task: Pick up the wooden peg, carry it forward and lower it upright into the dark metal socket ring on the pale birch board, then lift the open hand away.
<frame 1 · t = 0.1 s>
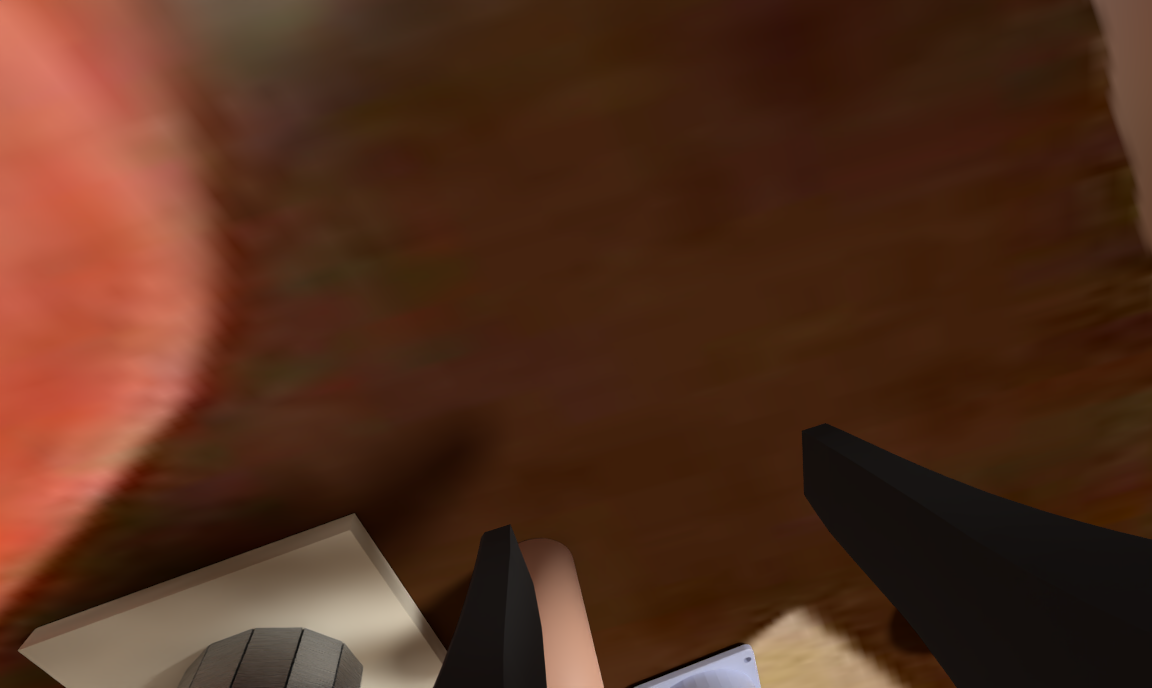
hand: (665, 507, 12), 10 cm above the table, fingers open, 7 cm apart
socket board: (284, 662, 25), on the table
peg: (534, 568, 26), on the table
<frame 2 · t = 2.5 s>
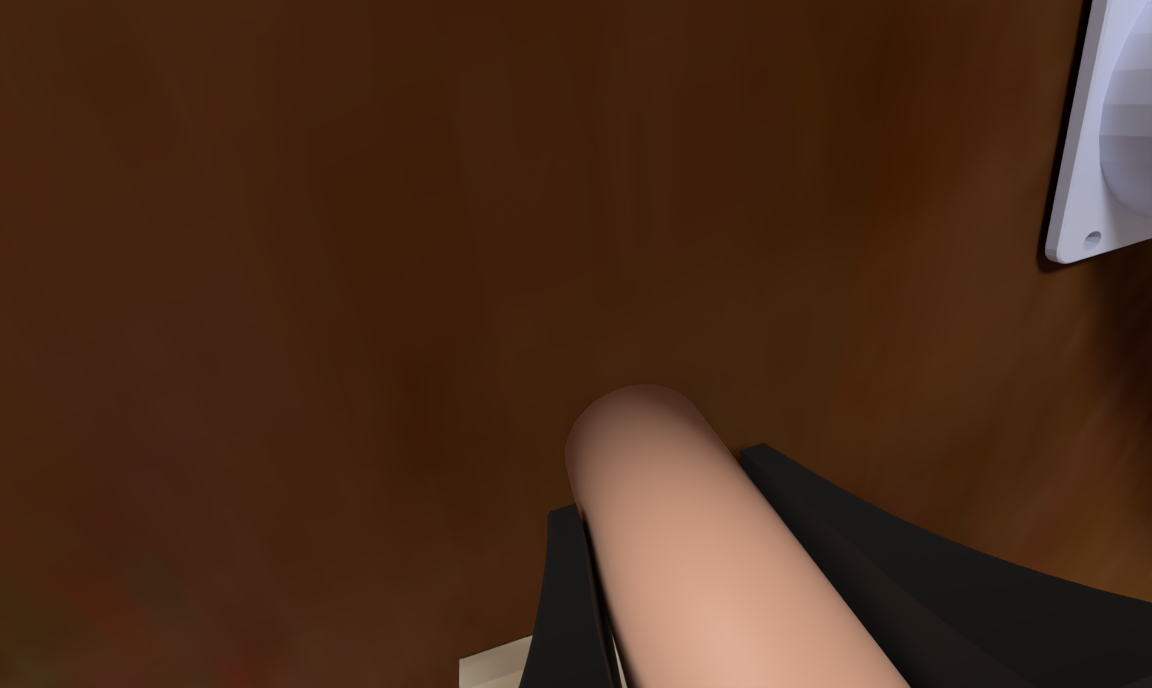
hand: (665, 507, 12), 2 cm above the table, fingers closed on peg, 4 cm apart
peg: (635, 447, 14), on the table, touching gripper
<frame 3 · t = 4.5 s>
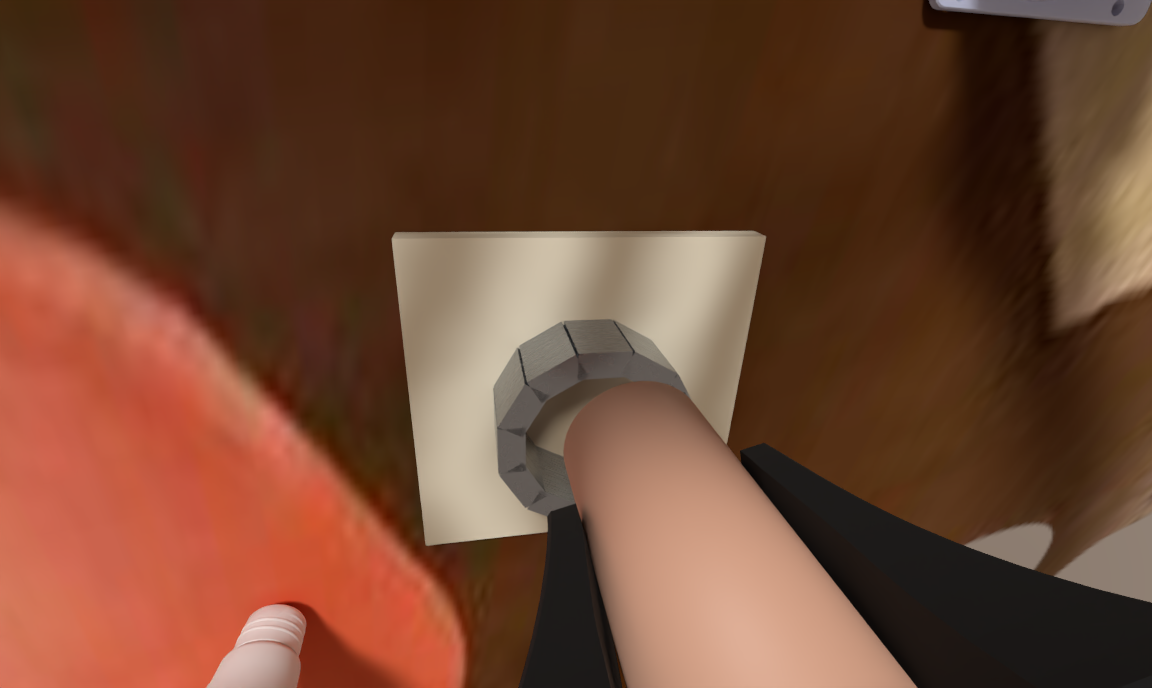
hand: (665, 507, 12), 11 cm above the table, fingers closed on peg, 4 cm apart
lightbulb: (283, 605, 25), on the table
socket board: (579, 390, 23), on the table
peg: (634, 445, 14), point 8 cm above the table, touching gripper
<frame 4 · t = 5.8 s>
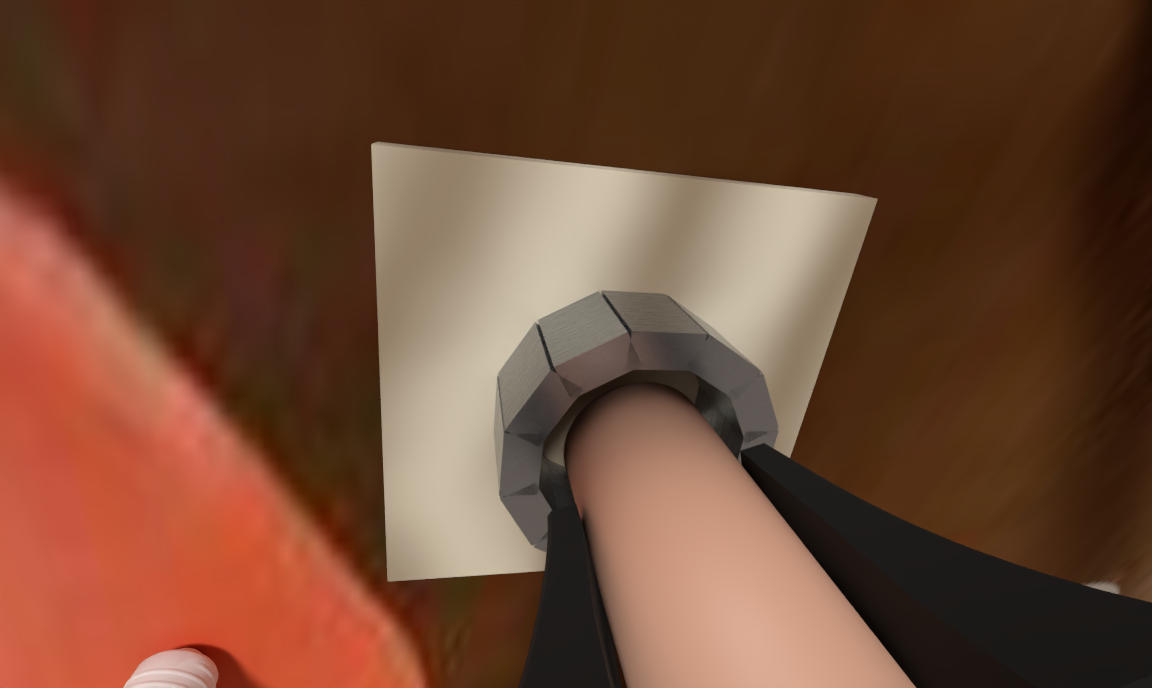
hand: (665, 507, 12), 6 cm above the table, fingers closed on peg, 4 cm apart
lightbulb: (191, 648, 19), on the table
socket board: (606, 389, 17), on the table
peg: (634, 445, 14), point 3 cm above the table, touching gripper
when the fingers open (5 cm above the table, at t = 6.9 s): peg drops 1 cm, resting on socket board.
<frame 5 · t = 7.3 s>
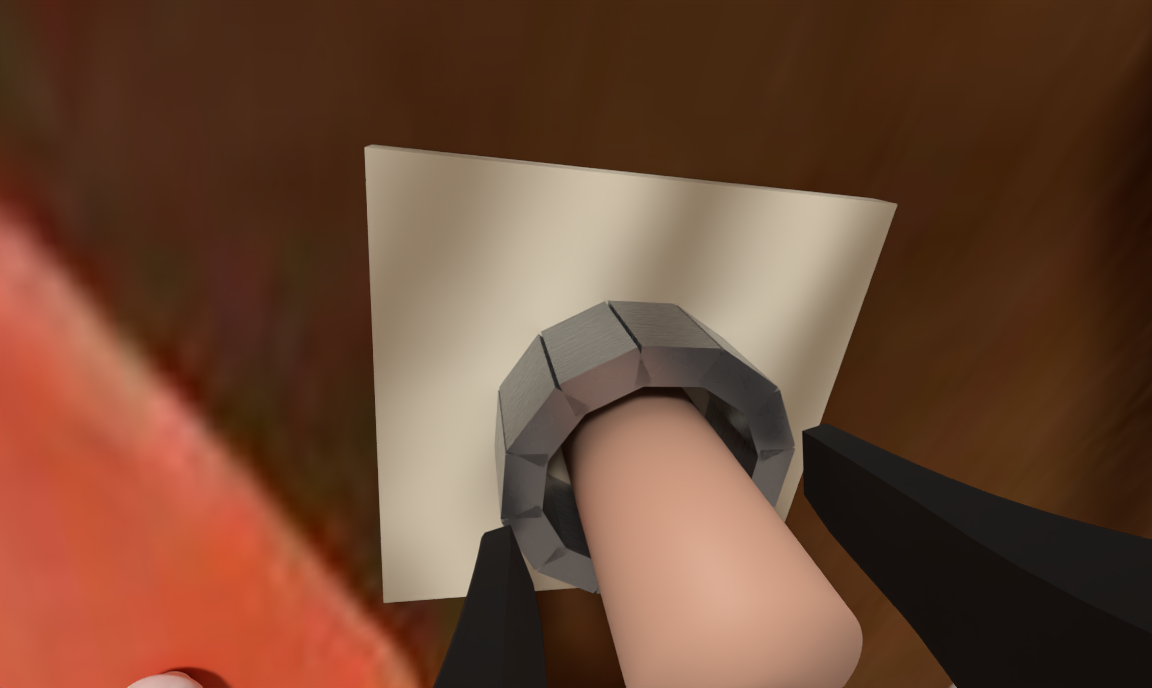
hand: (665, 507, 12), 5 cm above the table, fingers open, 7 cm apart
lightbulb: (179, 671, 18), on the table
socket board: (612, 401, 17), on the table
peg: (621, 417, 16), point 1 cm above the table, touching socket board
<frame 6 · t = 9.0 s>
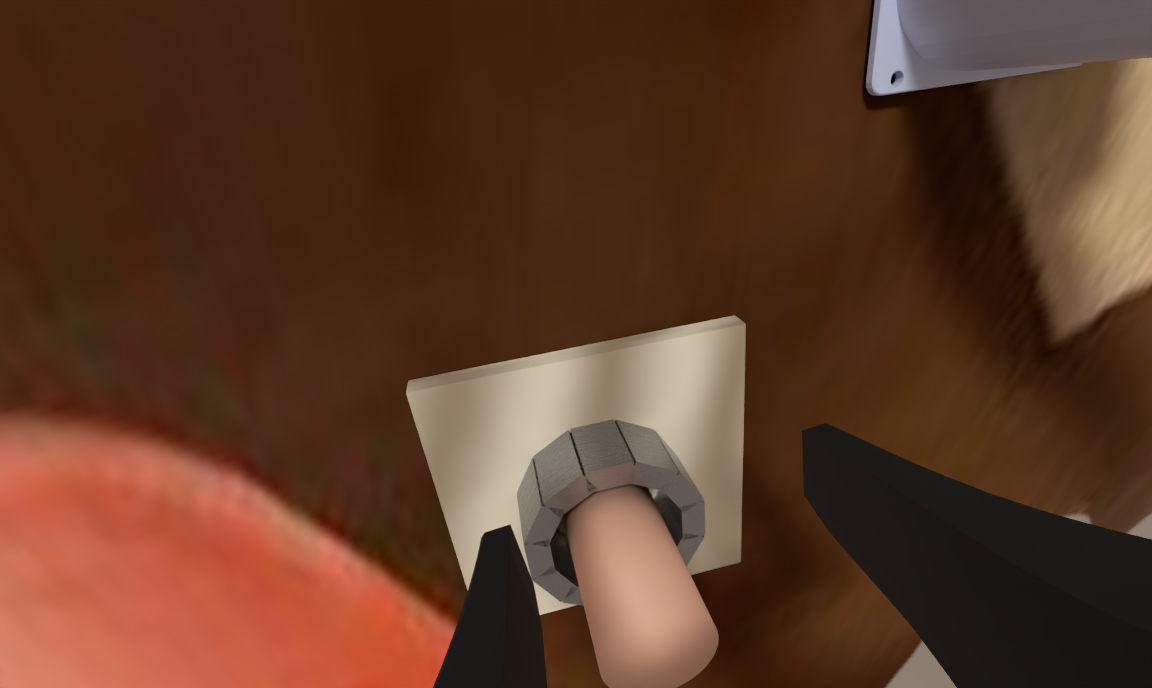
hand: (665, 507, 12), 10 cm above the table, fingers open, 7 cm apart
socket board: (595, 477, 25), on the table
peg: (600, 490, 24), point 1 cm above the table, touching socket board
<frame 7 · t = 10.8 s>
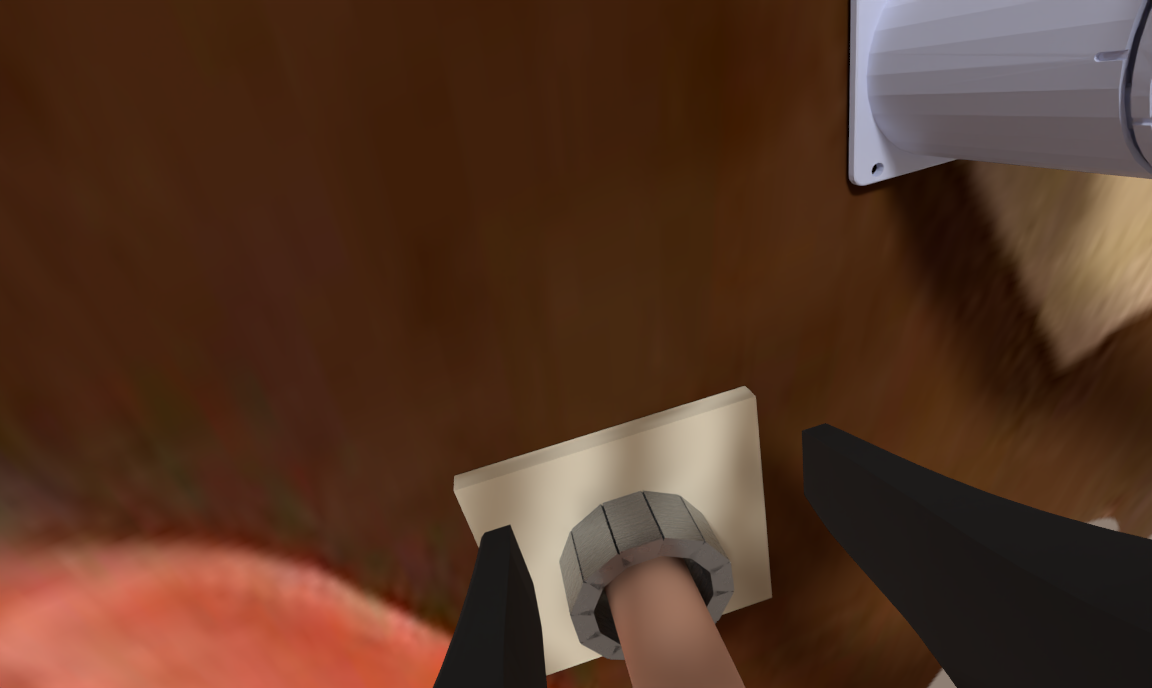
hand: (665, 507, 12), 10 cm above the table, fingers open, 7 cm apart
socket board: (629, 536, 27), on the table
peg: (635, 550, 26), point 1 cm above the table, touching socket board
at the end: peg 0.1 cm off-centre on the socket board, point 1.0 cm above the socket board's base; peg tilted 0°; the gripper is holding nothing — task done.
